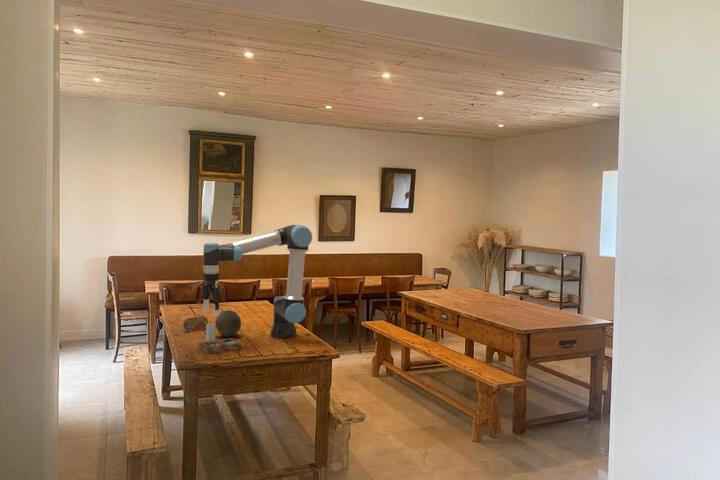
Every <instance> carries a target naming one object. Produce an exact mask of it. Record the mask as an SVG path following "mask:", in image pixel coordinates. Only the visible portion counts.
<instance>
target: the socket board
mask: <svg viewBox="0 0 720 480" xmlns="http://www.w3.org/2000/svg"><path fill="white" fill-rule="evenodd" d="M242 348H243V344H242V342H240V341H238V340H236V339H235V338H232V337H230V338H223V339H215V344H209V345H207V344H206V341H200V342H198V349H200V350H201V351H203V352H204V353H205V354H207V355H208V354H209V355H210V354H216V353H222V352H230V351H236V350H237V351H239V350H242Z"/></svg>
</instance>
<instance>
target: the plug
mask: <svg viewBox="0 0 720 480" xmlns="http://www.w3.org/2000/svg"><path fill="white" fill-rule="evenodd" d="M205 329H206V330H205V332H206V333H205V342H206V344H207V345H209V344H215V340H216V324H215V323H213V322H211V323H208V324H206V328H205Z"/></svg>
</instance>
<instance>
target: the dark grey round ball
mask: <svg viewBox="0 0 720 480" xmlns="http://www.w3.org/2000/svg"><path fill="white" fill-rule="evenodd" d="M214 324H215V329H216V330H217V332H218V333H220V334H221V335H222V336H224V337H232V336H233V337H234V336H235V335H236V334H238V332H239V331H240V330H241V327H242V320H241V318H240V315H239V313H237V312H236V311H234V310H231V309H229V310H228V309H227V310H223V311H221V312H219V316H215V323H214Z"/></svg>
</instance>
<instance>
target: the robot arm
mask: <svg viewBox="0 0 720 480" xmlns="http://www.w3.org/2000/svg"><path fill="white" fill-rule="evenodd" d="M312 240H313V234H312V231H311V230H310V229H309V227H306V226H304V225H302V224H299V225H298V224H291V225H287V226H284V227H281V228H277V229H275V230H274V231H273V232H270V233H265V234H261V235H257V236H254V237H250V238H249V237H248V238H247V239H242V240H238V241H233V242H231V243H226V244H219V243H217V242H206V243H205V244H203V250H202V251H203V267H202V270H203V288H202V294H201V298H203V312H204V313H208V312H210V294H211V296H212V300H213V303H212V304H213V307H212V308H213V317H217V316H219V313H220V304H221V303H222V299H221V298H222V297H221V293H220V287H219V285H220V284H219V283H217V281H219V279H220V276H219V275H220V274H219V272H220V271H219V269H220V268H219V267H220V266H219V265H220V264H219V262H236V261H241V260H242V258H243V255H246V254H249V253H252V252H256V251H260V250H264V249H266V248H271V247H275V246H279V247H281V246H286V247H287V248H286V249H287V250H288V252H289V255H288V257H289V258H288V269H287V281H286V283H287V284H286V293H285V295H283V296H275V297H274V299H273V323H272V326H271V330H270V334H269V335H270V337H272V338H276V339H291V338H295V337H297V334H298V333H297V328H296V325H295V324H298V323H300V322H301V321H303V320H304V319H305V317H306V314H307V309H306V306H305V304H304V303H305V297H304V296H303V295H302V294H303V284H304V283H303V282H304V272H305V258H306V253H307V251H309V245H310V244H311V243H312Z"/></svg>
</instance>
